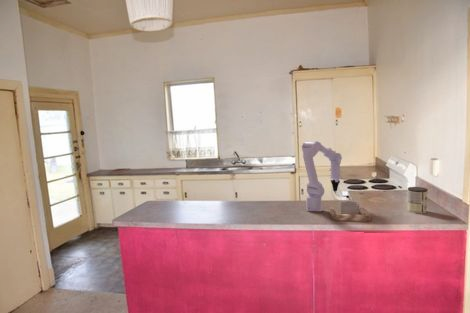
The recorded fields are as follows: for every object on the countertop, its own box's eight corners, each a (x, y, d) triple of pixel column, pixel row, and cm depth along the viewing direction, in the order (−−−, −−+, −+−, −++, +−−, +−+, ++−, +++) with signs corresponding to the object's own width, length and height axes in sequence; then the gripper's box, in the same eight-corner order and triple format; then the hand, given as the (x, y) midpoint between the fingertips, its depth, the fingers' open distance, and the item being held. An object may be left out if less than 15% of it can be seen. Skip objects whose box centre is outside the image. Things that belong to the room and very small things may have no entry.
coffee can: (407, 208, 197) (407, 186, 196) (426, 210, 193) (426, 187, 191) (407, 212, 188) (407, 189, 187) (427, 214, 184) (428, 190, 182)
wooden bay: (333, 220, 177) (333, 215, 177) (329, 211, 194) (329, 207, 194) (370, 221, 174) (370, 215, 174) (363, 212, 191) (363, 207, 190)
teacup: (360, 219, 178) (361, 205, 177) (340, 218, 180) (340, 204, 179) (355, 212, 192) (356, 199, 191) (337, 211, 194) (337, 199, 193)
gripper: (343, 172, 201) (343, 193, 202) (339, 169, 215) (339, 188, 216) (332, 172, 202) (331, 193, 203) (328, 169, 216) (328, 188, 217)
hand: (335, 190), depth 210 cm, fingers closed
